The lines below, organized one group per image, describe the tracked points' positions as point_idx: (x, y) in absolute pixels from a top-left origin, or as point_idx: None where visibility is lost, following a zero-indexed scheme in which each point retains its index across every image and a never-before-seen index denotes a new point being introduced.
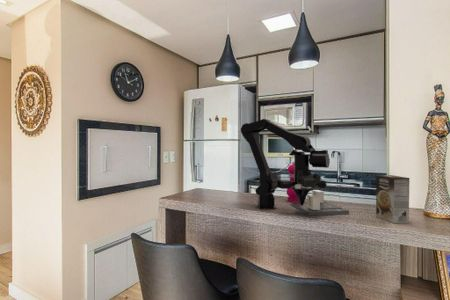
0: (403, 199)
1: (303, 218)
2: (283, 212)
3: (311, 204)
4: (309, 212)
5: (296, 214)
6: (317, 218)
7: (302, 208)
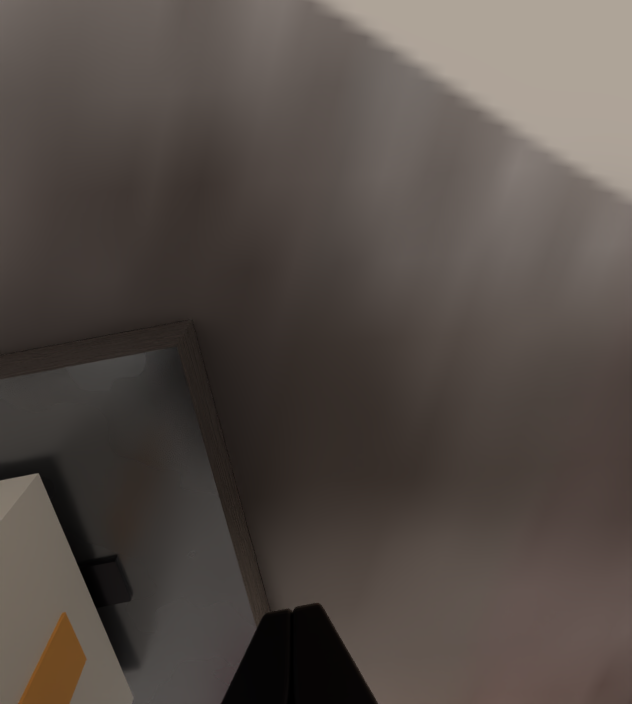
0: None
1: (362, 61)
2: (614, 508)
3: (3, 631)
4: (153, 346)
5: (419, 394)
6: (17, 77)
7: (254, 618)
